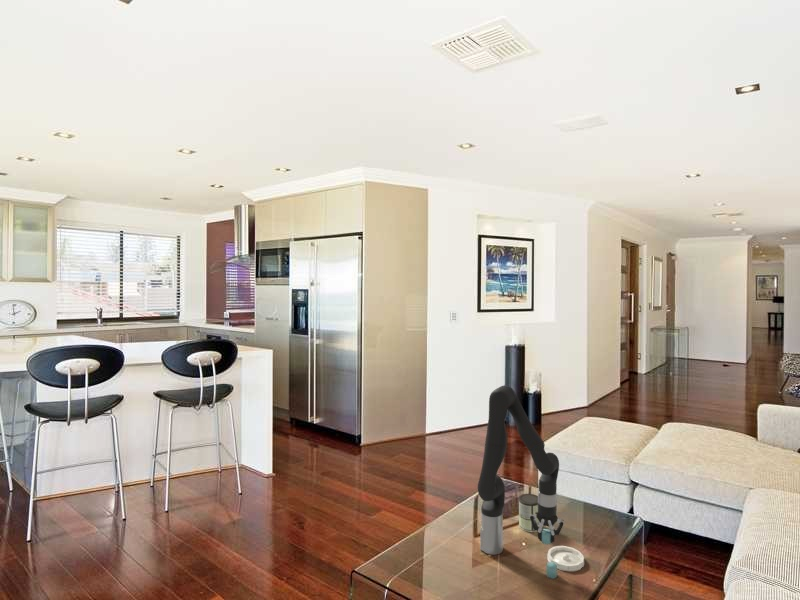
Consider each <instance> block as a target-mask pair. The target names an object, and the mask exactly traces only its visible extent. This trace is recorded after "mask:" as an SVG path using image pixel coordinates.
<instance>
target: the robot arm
mask: <svg viewBox="0 0 800 600" xmlns="http://www.w3.org/2000/svg"><path fill="white" fill-rule="evenodd" d="M508 412H509V413H510V415H511V417H512V419H513V421H514V423H515V426H516V427H515V428H516V430H517V432H518V435H519V437H520V439H521V441H522V442H523V444H524V445H525V447H526V448H527V450H528V451H529V453H530V455H531V458H532V460H533V461H532V462H533V463H534V465H535V467H536V468H537V470H538V472H539V473H541V475H540V477H539V479H538V480H539V481H538V493H537V496H538V513H537V514H535V515H534V514H531V516H530V519H531V522H532V526H533V529H534V530H537V539H538V540H539V542H541V534H542V529H543V527H547V528H549V530H551V544H553V543H555V540H556V535H557V536H559V535H560V534H561V531H562V529H563V527H564V523H565V521H564V519H559V517H558V515H557V514H558V513H557V512H558V511H557V508H558V504H557V503H558V495H557V489H558V488H557V480H558V476H559V471H560V460H559V458H558V456H557V455H556V454H555V453H553V452H546V450H545V442H544V440H543V439H542V437H541V436H540V434H539V433H538V432H537V430H536V428H535V427H534V426H533V424H532V422H531V420H530V419H529V418H528V415H527V413H526V411H525V409H524V408H523V405H522V403H521V401H520V399H519V397H518V396H517V393H516V392H515V390H514V389H513V388H512V387H511V386H510V385H505V384H504V385H501V386H499V387H497V388H496V389H494V390H493V391H492V392H491V393H490V395H489V401H488V421H487V422H488V423H487V427H486V434H485V435H486V436H485V443H484V448H483V449H484V451H483V456H482V457H483V458H482V465H481V471H480V475H479V478H478V483H477V493H478V495H479V497H480V499H481V500H483V503H482V504H481V509H480V510H481V511H480V512H481V527H480V531H479V533H480V540H479V541H480V542H479V544H480V545H479V546H480V551H482V552H483V553H485V554H486V555H487V554H488V555H493V556H497V555H499V554H501V553H502V552H503V551H504V550H503V549H504V545H503V544H504V542H503V540H504V535H503V534H504V533H503V530H504V529H503V526H504V525H503V522H504V521H503V510H504V507H505V500H506V499H505V498H506V495H505V494H506V489H505V483H504V481H503V479H502V478H501V477H500V476H499V474H498V471H499V470H500V466H501V465H502V463H503V461H504V459H505V456H506V453H507V449H508V448H507V446H508V432H507V429H506V416H507V413H508ZM497 474H498V475H497ZM536 518H537V519H538V520H539V522H540V526H539V527H538V526H537V523H536ZM555 524H557V525H558V527H557V528H555Z"/></svg>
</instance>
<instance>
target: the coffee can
mask: <svg viewBox="0 0 800 600" xmlns="http://www.w3.org/2000/svg"><path fill="white" fill-rule="evenodd" d="M537 513H538V494H533V493H523V494H520V495H519V496H518V520H519V521H518V527H519V529H521V530H522V531H524V532H527V533H528V532H529V533H536V532H537V533H538V531H537V530H534V529H533V526H532V522H531V519H530V516H531V514H534V515H535V514H537ZM536 523H537V526H538V527H539V526H540V522H539V520H538V519H537V518H536Z"/></svg>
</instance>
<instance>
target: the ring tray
mask: <svg viewBox="0 0 800 600" xmlns="http://www.w3.org/2000/svg"><path fill="white" fill-rule="evenodd" d="M546 556H547V557H546V559H547V563H549V562H552V563H555V564H556V565H557V570H559V571H563V572H578V571H580V570H582V569H583V568H584V566H585V556H584V555H583V553H581V551H580V550H578V549H576V548H574V547H572V546H565V545H556V546H553V547H551V548H549V549H548V551H547V555H546ZM582 567H583V568H582ZM581 568H582V569H581Z"/></svg>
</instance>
